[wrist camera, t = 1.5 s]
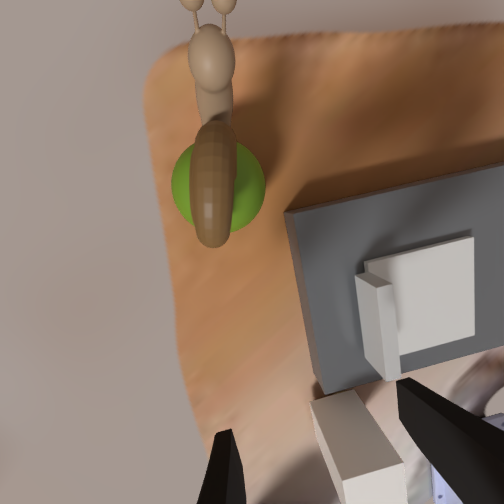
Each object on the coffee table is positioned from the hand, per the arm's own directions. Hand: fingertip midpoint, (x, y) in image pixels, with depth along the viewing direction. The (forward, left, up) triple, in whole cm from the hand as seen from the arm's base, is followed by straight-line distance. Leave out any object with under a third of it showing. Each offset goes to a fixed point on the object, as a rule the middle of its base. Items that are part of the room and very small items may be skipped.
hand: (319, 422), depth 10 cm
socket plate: (+1, -13, -10) cm, 16 cm away
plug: (-10, -3, -10) cm, 14 cm away
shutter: (0, -10, -7) cm, 12 cm away
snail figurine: (+11, +2, -10) cm, 15 cm away
